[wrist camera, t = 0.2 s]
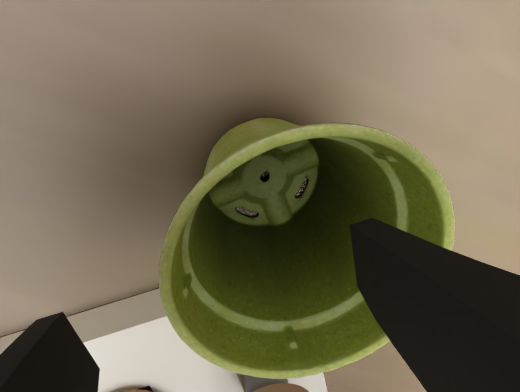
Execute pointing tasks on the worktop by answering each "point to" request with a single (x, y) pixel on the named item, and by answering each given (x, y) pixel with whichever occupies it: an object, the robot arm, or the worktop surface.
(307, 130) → the plant pot
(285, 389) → the knob
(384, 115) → the worktop surface
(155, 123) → the worktop surface
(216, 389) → the mount plate
